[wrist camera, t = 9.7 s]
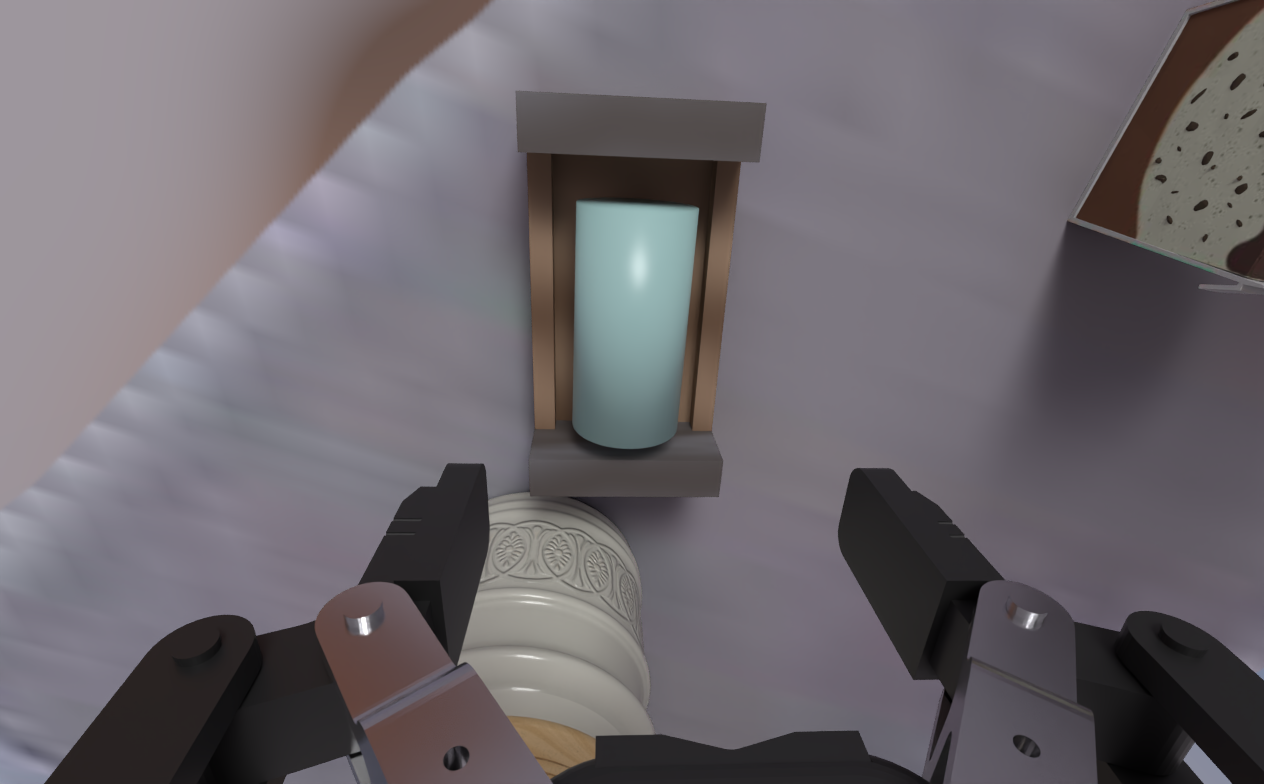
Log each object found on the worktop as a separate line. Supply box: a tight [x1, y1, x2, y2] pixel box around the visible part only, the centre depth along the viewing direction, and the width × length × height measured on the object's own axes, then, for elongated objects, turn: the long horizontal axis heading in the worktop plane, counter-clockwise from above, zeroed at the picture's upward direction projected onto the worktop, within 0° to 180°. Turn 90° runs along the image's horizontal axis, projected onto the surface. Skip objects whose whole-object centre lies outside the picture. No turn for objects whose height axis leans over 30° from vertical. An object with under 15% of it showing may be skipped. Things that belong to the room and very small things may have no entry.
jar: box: [457, 492, 656, 779], centre depth 28 cm, size 13×13×18 cm
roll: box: [572, 197, 699, 449], centre depth 26 cm, size 10×5×5 cm
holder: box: [516, 91, 767, 497], centre depth 27 cm, size 17×9×6 cm, turn 178°
